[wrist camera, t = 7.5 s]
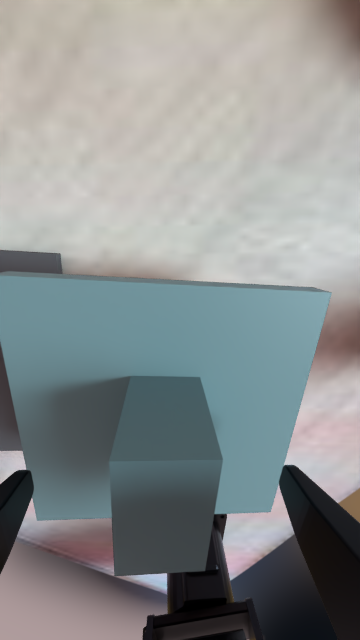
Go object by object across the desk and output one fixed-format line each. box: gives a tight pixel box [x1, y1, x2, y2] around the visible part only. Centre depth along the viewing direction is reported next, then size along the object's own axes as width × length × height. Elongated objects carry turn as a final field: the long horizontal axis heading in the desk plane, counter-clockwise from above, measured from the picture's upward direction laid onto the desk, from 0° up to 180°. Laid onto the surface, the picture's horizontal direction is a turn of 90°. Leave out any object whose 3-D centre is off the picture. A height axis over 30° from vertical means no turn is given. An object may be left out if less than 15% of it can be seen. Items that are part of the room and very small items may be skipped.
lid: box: [0, 271, 332, 576], centre depth 9 cm, size 13×13×5 cm
